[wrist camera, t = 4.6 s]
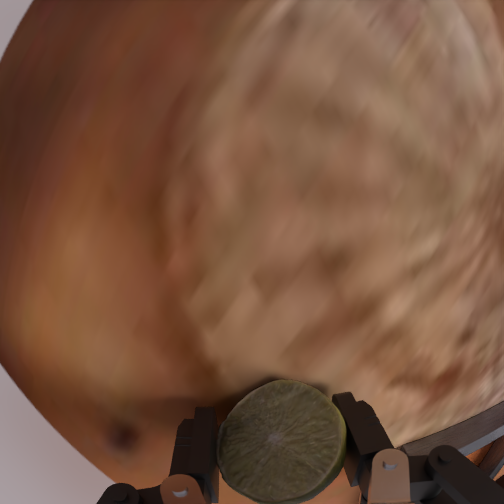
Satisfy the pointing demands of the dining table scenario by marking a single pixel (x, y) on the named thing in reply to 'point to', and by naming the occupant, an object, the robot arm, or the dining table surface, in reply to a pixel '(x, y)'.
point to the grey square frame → (470, 439)
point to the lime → (282, 443)
